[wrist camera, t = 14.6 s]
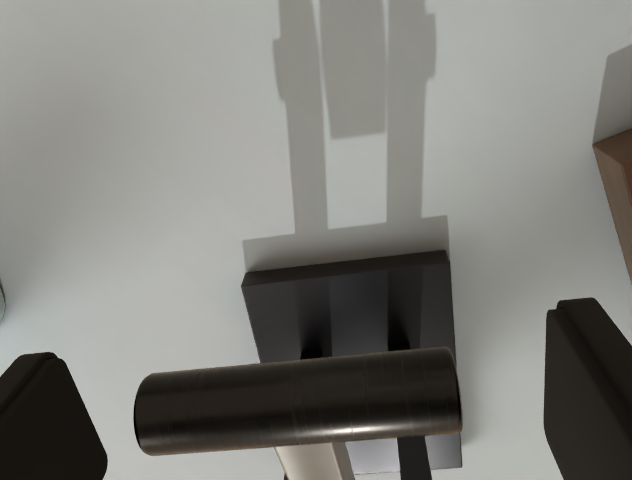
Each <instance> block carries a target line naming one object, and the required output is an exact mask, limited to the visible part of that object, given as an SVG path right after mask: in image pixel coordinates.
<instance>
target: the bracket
mask: <svg viewBox="0 0 632 480" xmlns="http://www.w3.org/2000/svg"><path fill="white" fill-rule="evenodd" d="M241 288H242V292H243V296H244V300H245V304H246V308H247V312H248V315H249V319H250V323H251V327H252V331H253V335H254V339H255V343H256V347H257V351H258V355H259V359H260V363H269V362H280V361H291V360H302V359H312V358H323V357H334V356H345V355H356V354H366V353H377V352H388V351H399V350H409V349H420V348H431V347H442V346H445V347H448V348H449V349H450V351H451V352H452V355H453V358H454V362H455V366H456V354H455V337H454V321H453V304H452V288H451V272H450V262H449V259H448V256H447V253H446V251H445V250H441V251H432V252H423V253H414V254H406V255H397V256H388V257H379V258H371V259H362V260H353V261H344V262H336V263H327V264H318V265H309V266H301V267H292V268H283V269H275V270H266V271H257V272H248V273H245V276H244V279H243V282H242V285H241ZM456 371H457V370H456ZM345 444H346V447H347V451H348V455H349V459H350V462H351V466H352V470H353V474H354V475H356V474H372V473H387V472H400V474H401V480H432V476H431V470H432V469H448V468H462V452H461V436H460V432H459V433H457V434H446V435H433V436H419V437H405V438H392V439H378V440H365V441H351V442H345ZM284 480H288V478H287V476H286V474H285V475H284Z"/></svg>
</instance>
